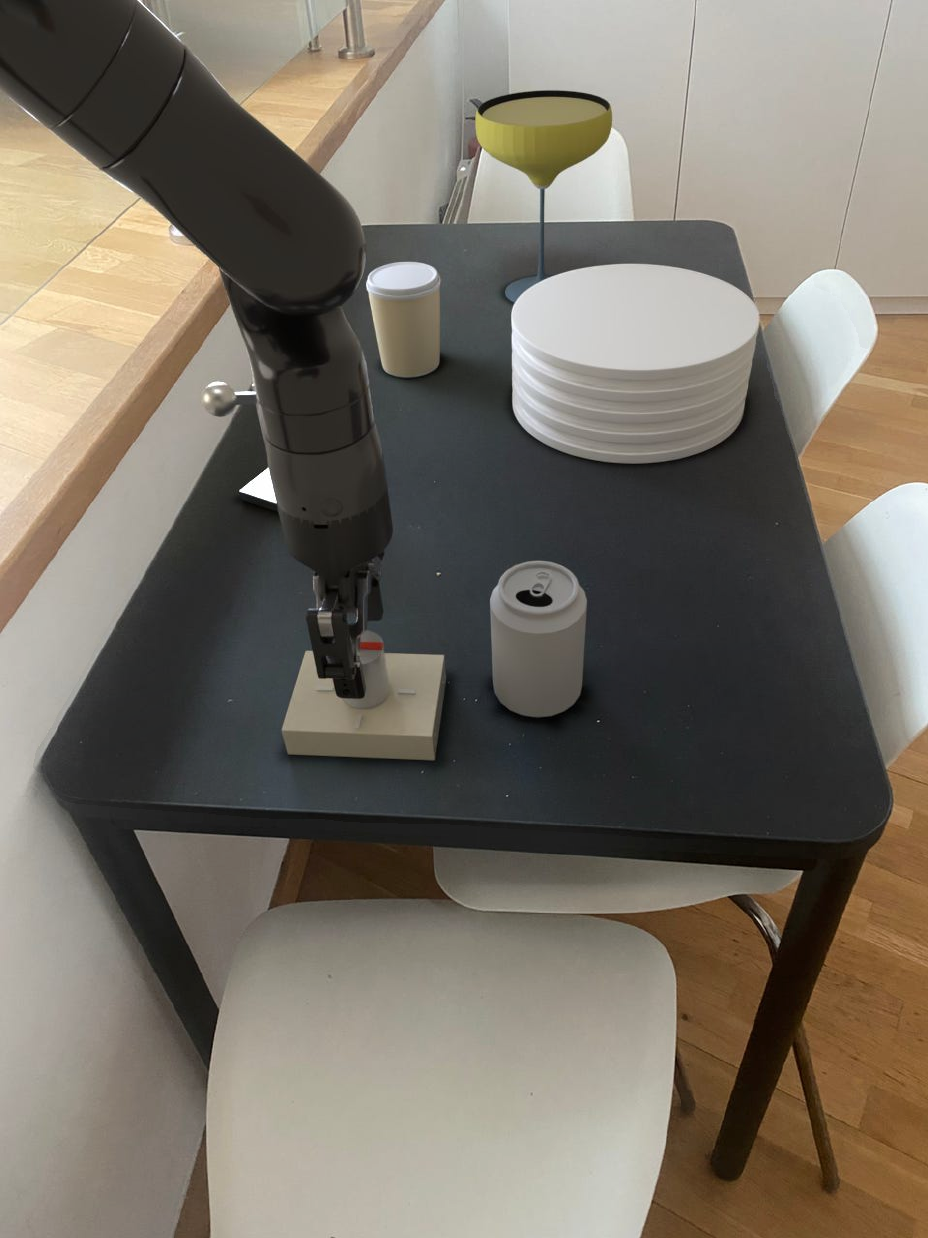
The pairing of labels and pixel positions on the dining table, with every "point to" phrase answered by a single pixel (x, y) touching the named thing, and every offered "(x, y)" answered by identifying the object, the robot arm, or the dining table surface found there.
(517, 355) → the plate stack
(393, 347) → the coffee cup
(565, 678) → the can
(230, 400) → the tap lever
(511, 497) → the dining table surface
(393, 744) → the panel
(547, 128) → the cocktail glass
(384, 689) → the dial
